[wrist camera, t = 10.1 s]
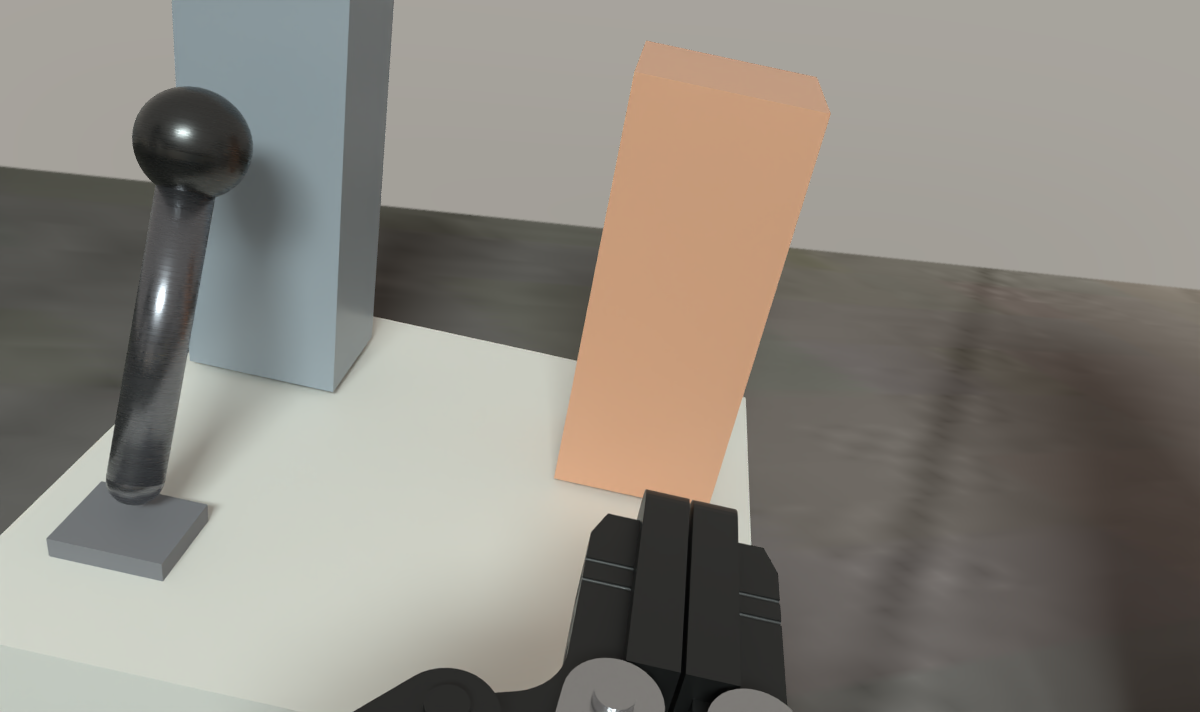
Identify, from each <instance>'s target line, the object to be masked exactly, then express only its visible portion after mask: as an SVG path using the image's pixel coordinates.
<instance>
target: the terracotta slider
mask: <svg viewBox="0 0 1200 712" xmlns="http://www.w3.org/2000/svg"><path fill="white" fill-rule="evenodd" d="M830 114H831V113H830V111H829V108H828V105H827V103H826V100H825V97H824V95H823V92H822V90H821V87H820V84H819V82H818V79H817V77H813V76H808V75H804V74H799V73H795V72H790V71H785V70H780V69H776V68H771V67H767V66H761V65H757V64H753V63H748V62H743V61H739V60H733V59H729V58H725V57H720V56H715V55H711V54H706V53H701V52H696V51H692V50H687V49H683V48H678V47H673V46H669V45H664V44H659V43H655V42H650V41H646V42H645V45H644V48H643V50H642V53H641V56H640V58H639V61H638V64H637V66H636V69H635V72H634V77H633V82H632V87H631V92H630V97H629V102H628V107H627V112H626V117H625V122H624V127H623V132H622V137H621V142H620V147H619V152H618V157H617V162H616V167H615V173H614V178H613V183H612V188H611V193H610V198H609V203H608V208H607V213H606V218H605V223H604V228H603V233H602V238H601V243H600V248H599V253H598V258H597V263H596V268H595V273H594V279H593V284H592V289H591V294H590V299H589V304H588V309H587V314H586V319H585V324H584V329H583V334H582V339H581V344H580V349H579V354H578V359H577V364H576V369H575V374H574V380H573V385H572V390H571V395H570V400H569V405H568V410H567V415H566V420H565V425H564V430H563V435H562V440H561V445H560V450H559V455H558V460H557V465H556V470H555V476H554V479H559V480H564V481H568V482H573V483H577V484H582V485H586V486H591V487H595V488H600V489H605V490H609V491H614V492H618V493H623V494H627V495H632V496H636V497H641V498H643V495H644V492H645V490H646V489H648V490H652V491H657V492H661V493H666V494H670V495H675V496H679V497H684V498H688V499H690V503H691V501H692V500H696V501H701V502H705V503H710V501H711V497H712V494H713V491H714V488H715V484H716V481H717V478H718V475H719V472H720V468H721V465H722V462H723V459H724V456H725V452H726V449H727V446H728V443H729V439H730V436H731V433H732V430H733V427H734V423H735V420H736V417H737V414H738V410H739V407H740V404H741V401H742V398H743V394H744V391H745V388H746V385H747V382H748V378H749V375H750V372H751V369H752V365H753V362H754V359H755V356H756V353H757V349H758V346H759V343H760V340H761V337H762V333H763V330H764V327H765V324H766V320H767V317H768V314H769V311H770V308H771V304H772V301H773V298H774V295H775V292H776V288H777V285H778V282H779V279H780V275H781V272H782V269H783V266H784V263H785V259H786V256H787V253H788V250H789V246H790V243H791V240H792V237H793V233H794V230H795V227H796V224H797V221H798V218H799V214H800V211H801V208H802V205H803V201H804V198H805V195H806V192H807V189H808V185H809V182H810V179H811V175H812V173H813V169H814V166H815V163H816V160H817V156H818V153H819V150H820V147H821V144H822V140H823V137H824V133H825V130H826V128H827V124H828V121H829V117H830Z"/></svg>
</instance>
